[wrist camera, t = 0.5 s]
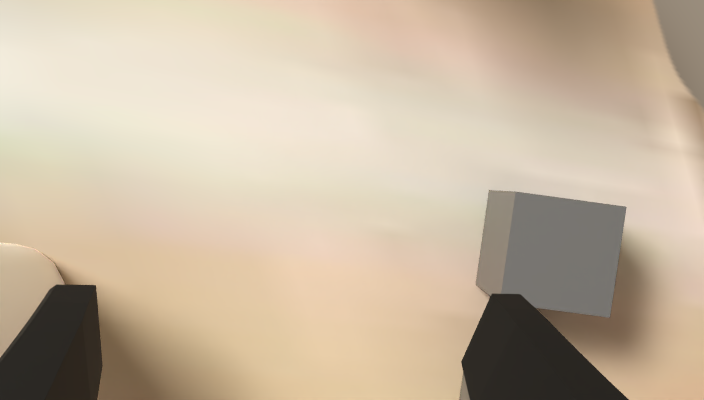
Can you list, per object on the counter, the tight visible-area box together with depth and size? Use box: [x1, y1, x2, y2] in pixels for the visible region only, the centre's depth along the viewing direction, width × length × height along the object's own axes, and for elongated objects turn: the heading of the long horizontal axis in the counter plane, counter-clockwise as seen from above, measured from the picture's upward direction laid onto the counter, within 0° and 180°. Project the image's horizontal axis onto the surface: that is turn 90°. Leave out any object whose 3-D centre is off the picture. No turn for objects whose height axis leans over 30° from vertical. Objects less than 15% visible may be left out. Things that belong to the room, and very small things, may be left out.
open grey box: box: [476, 190, 626, 318], centre depth 33 cm, size 6×6×6 cm
